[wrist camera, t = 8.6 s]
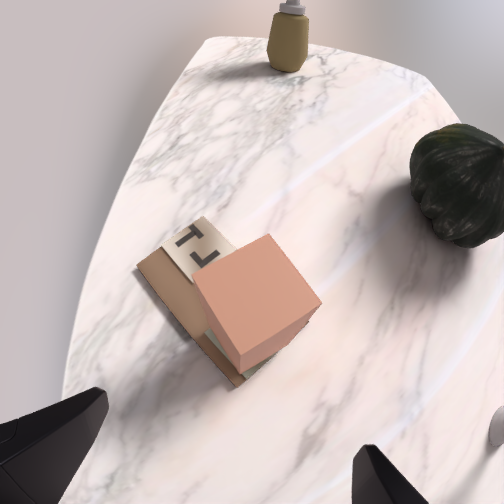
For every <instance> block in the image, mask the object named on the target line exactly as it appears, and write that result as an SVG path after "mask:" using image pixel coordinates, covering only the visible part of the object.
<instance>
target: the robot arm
mask: <svg viewBox="0 0 504 504" xmlns="http://www.w3.org/2000/svg"><path fill="white" fill-rule="evenodd" d="M108 410H109V403H108V398H107V393H106V391H105V390H103V389H101V388H98V387H93V388H91V389H89V390H86V391H84V392H82V393H79V394H77V395H75V396H72V397H70V398H68V399H65V400H63V401H60V402H58V403H56V404H53V405H51V406H48V407H46V408H43V409H41V410H38V411H36V412H33V413H31V414H28V415H25V416H23V417H20V418H19V419H14V420H12V421H9V422H6V423H3V424H0V504H58V503H59V501H60V499H61V497H62V496H63V494H64V492H65V490H66V489H67V487H68V485H69V483H70V482H71V480H72V478H73V477H74V475H75V473H76V472H77V470H78V468H79V467H80V465H81V463H82V462H83V460H84V458H85V457H86V455H87V453H88V452H89V450H90V448H91V447H92V445H93V443H94V441H95V439H96V437H97V435H98V432H99V430H100V428H101V426H102V423H103V421H104V419H105V417H106V415H107V412H108ZM352 504H429V503H428V502H427V501H426V500H425V499H424V498H423V496H422V495H421V494H420V493H419V492H418V491H417V490H416V489H415V488H414V487H413V486H412V485H411V484H410V483H409V482H408V480H407V479H406V478H405V477H404V476H403V475H402V474H401V473H400V472H399V471H398V470H397V468H396V467H395V466H394V465H393V464H392V463H391V462H390V461H389V460H388V458H387V457H386V456H385V455H384V454H383V453H382V452H381V451H380V450H379V448H378V447H377V446H376V445H373V444H366V445H363V446H362V447H361V449H360V450H359V452H358V453H357V454H356V455H355V457H354V459H353V473H352Z"/></svg>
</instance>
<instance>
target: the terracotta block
mask: <svg viewBox="0 0 504 504" xmlns="http://www.w3.org/2000/svg"><path fill="white" fill-rule="evenodd" d="M191 276H192V279H193V282H194V285H195V287H196V290H197V293H198V296H199V299H200V302H201V304H202V307H203V310H204V313H205V315H206V318H207V321H208V323H209V326H210V328H211V330H212V331H213V333H214V335H215V336H216V338H217V340H218V341H219V343H220V344H221V346H222V348H223V349H224V351H225V352H226V354H227V356H228V357H229V359H230V360H231V362H232V363H233V365H234V366H235V368H236V370H237V371H238V373H239V374H242V373H244V372H245V371H247V370H249V369H250V368H252V367H253V366H255V365H257V364H258V363H260V362H262V361H263V360H265V359H266V358H268V357H270V356H271V355H273V354H274V353H276V352H277V351H279V350H281V349H282V348H284V347H285V346H287V345H288V344H289V343H290V342H291V341H292V339H293V338H294V337H295V336H296V335H297V333H298V332H299V331H300V330H301V329H302V327H303V326H304V325H305V324H306V323H307V321H308V320H309V319H310V318H311V316H312V315H313V314H314V313H315V311H316V310H317V309H318V308H319V306H320V305H321V304H322V302H321V301H320V299H319V298H318V297H317V295H316V294H315V293H314V291H313V290H312V289H311V287H310V286H309V285H308V283H307V282H306V281H305V279H304V278H303V277H302V276H301V274H300V273H299V272H298V270H297V269H296V268H295V266H294V265H293V264H292V263H291V261H290V260H289V259H288V257H287V256H286V255H285V253H284V252H283V251H282V250H281V248H280V247H279V246H278V244H277V243H276V242H275V241H274V239H273V238H272V237H271V236H270V234H267V235H265V236H263V237H261V238H259V239H257V240H255V241H253V242H252V243H250V244H248V245H246V246H244V247H242V248H240V249H238V250H236V251H234V252H233V253H231V254H229V255H227V256H225V257H223V258H221V259H219V260H217V261H215V262H214V263H212V264H210V265H208V266H206V267H204V268H202V269H200V270H198V271H197V272H195V273H193V274H191Z"/></svg>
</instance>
